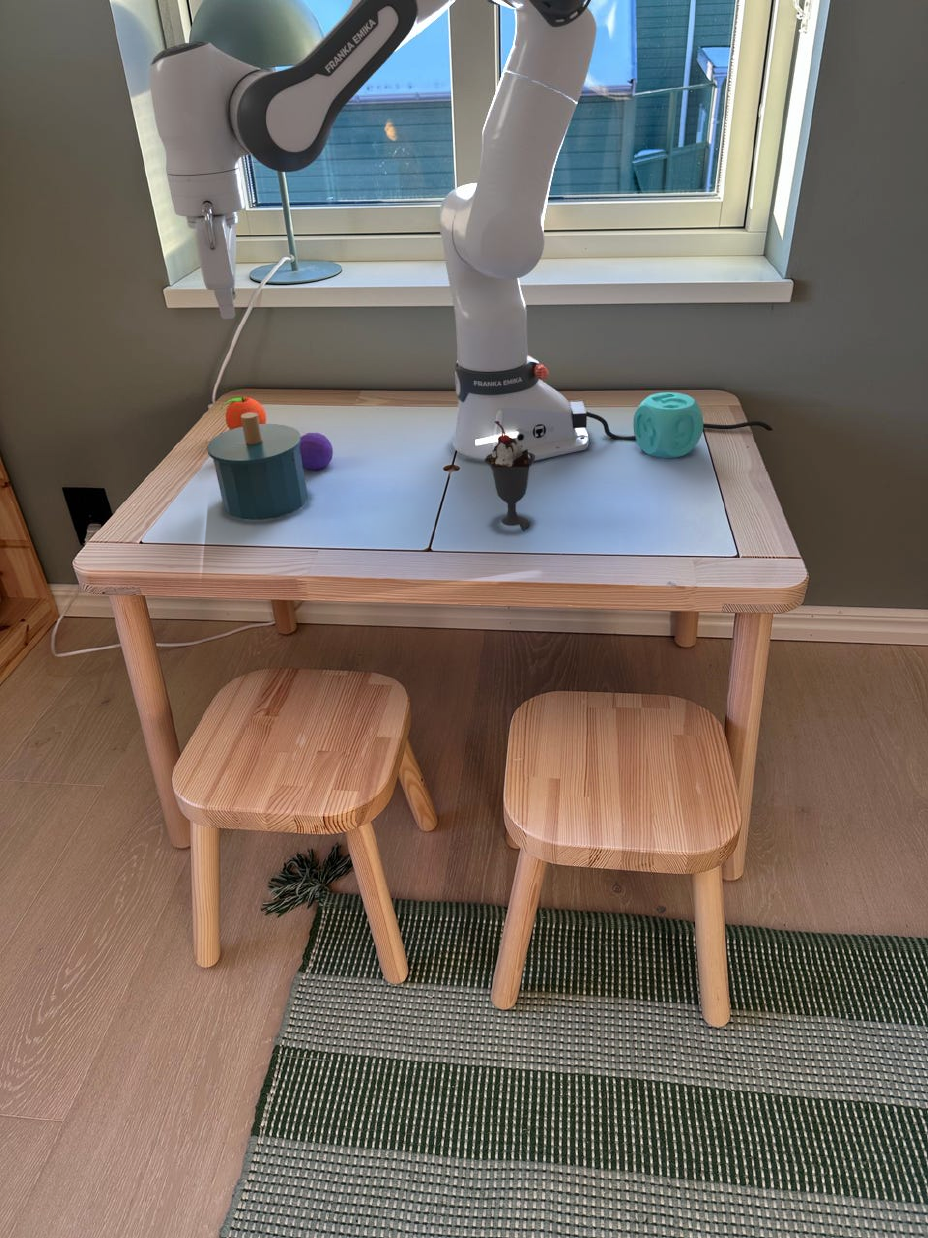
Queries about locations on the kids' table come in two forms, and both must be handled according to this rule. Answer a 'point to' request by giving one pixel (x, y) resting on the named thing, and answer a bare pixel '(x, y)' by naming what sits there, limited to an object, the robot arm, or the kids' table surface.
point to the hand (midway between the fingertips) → (229, 307)
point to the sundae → (510, 475)
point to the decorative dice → (668, 424)
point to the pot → (263, 487)
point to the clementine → (243, 411)
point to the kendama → (315, 451)
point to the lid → (253, 442)
